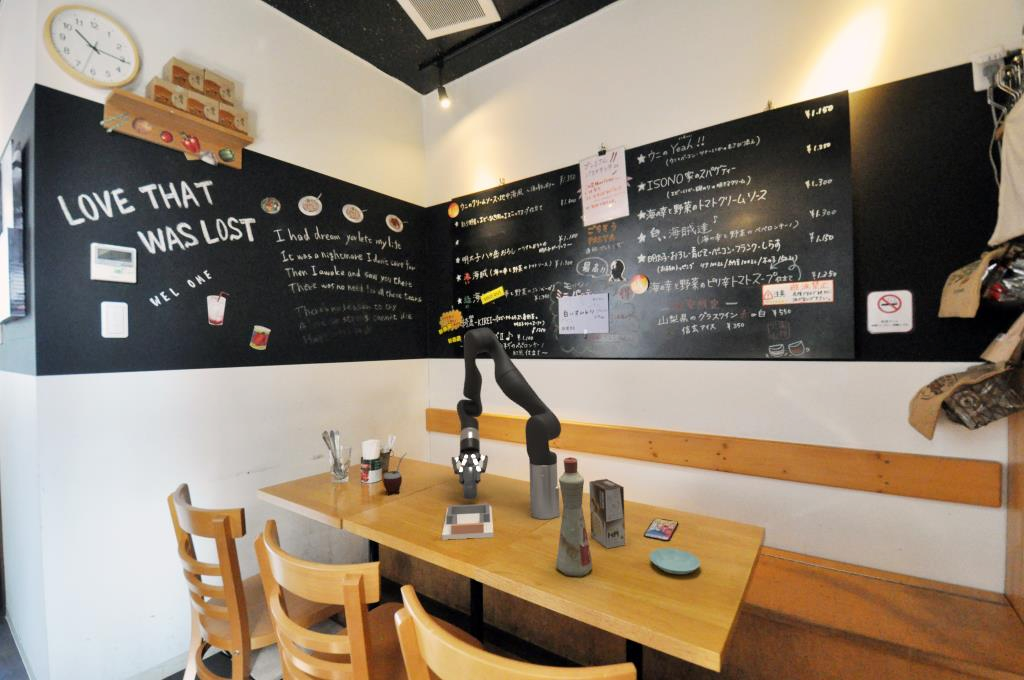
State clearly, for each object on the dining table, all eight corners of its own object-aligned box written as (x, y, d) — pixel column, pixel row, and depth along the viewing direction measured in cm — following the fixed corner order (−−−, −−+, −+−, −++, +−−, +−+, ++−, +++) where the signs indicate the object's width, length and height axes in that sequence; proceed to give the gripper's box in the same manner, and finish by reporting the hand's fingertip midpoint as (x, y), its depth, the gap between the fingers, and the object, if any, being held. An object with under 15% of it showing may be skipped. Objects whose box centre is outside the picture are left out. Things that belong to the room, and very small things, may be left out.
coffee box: (626, 545, 123) (625, 487, 123) (606, 549, 121) (605, 490, 121) (608, 532, 132) (606, 478, 132) (589, 536, 129) (588, 481, 130)
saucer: (706, 565, 111) (705, 556, 111) (691, 585, 102) (691, 575, 102) (659, 552, 118) (659, 544, 118) (642, 570, 109) (642, 561, 109)
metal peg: (477, 494, 161) (476, 463, 161) (477, 498, 156) (476, 467, 156) (463, 495, 160) (462, 464, 161) (463, 499, 155) (462, 468, 156)
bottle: (553, 561, 114) (550, 453, 115) (587, 559, 115) (585, 451, 116) (559, 579, 106) (556, 461, 106) (596, 576, 106) (593, 460, 107)
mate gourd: (379, 495, 171) (378, 456, 171) (392, 489, 178) (391, 451, 178) (395, 497, 168) (394, 457, 168) (407, 490, 175) (407, 452, 175)
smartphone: (642, 535, 128) (654, 517, 141) (642, 538, 128) (655, 520, 141) (669, 540, 124) (679, 521, 137) (669, 544, 124) (679, 524, 137)
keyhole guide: (491, 510, 152) (491, 498, 152) (493, 537, 130) (493, 523, 130) (447, 512, 151) (447, 500, 151) (441, 540, 129) (441, 526, 129)
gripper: (450, 437, 167) (448, 478, 154) (488, 435, 168) (490, 476, 155) (451, 448, 172) (450, 489, 159) (488, 447, 173) (490, 487, 160)
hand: (469, 482), depth 157 cm, fingers closed on metal peg, 5 cm apart
